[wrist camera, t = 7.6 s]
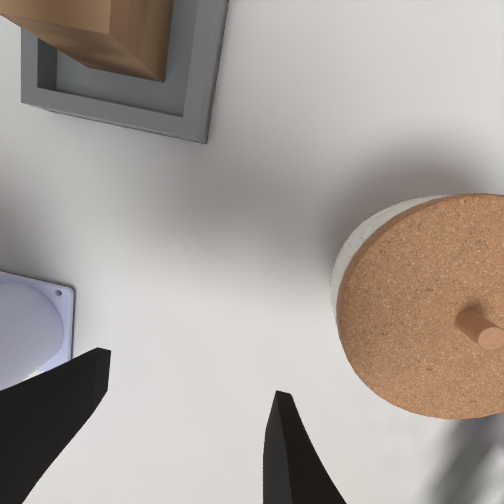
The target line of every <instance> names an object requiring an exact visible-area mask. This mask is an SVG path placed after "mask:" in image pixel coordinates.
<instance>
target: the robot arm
mask: <svg viewBox="0 0 504 504" xmlns="http://www.w3.org/2000/svg"><path fill="white" fill-rule="evenodd" d="M59 290H60V291H61V293H62V294H60V292H59ZM73 302H74V292H73V290H72V289H71V288H69V287H66V286H62V285H57V284H53V283H49V282H44V281H40V280H36V279H32V278H27V277H23V276H19V275H14V274H10V273H6V272H1V271H0V504H22V503H23V502H24V500H25V499H26V497H27V496H28V494H29V493H30V492H31V490H32V489H33V487H34V486H35V484H36V483H37V482H38V480H39V479H40V478H41V476H42V475H43V474H44V473H45V471H46V470H47V469H48V467H49V466H50V465H51V464H52V462H53V461H54V460H55V459H56V458H57V456H58V455H59V454H60V453H61V452H62V450H63V449H64V448H65V447H66V446H67V444H68V443H69V442H70V441H71V439H72V438H73V437H74V436H75V435H76V433H77V432H78V431H79V430H80V429H81V427H82V426H83V425H84V424H85V422H86V421H87V420H88V419H89V417H90V416H91V415H92V414H93V412H94V411H95V409H96V408H97V406H98V405H99V403H100V402H101V400H102V398H103V397H104V395H105V394H106V392H107V390H108V379H109V368H110V357H111V351H110V350H106V349H102V348H98V347H97V348H95V349H93V350H90V351H88V352H86V353H84V354H82V355H80V356H78V357H76V358H74V359H72V360H71V341H72V322H73ZM35 370H41V371H45V372H44V373H42V374H39V375H37V376H35V377H32V378H30V379H28V380H25V381H23V382H21V381H22V380H24V379H25V378H26V377H28V376H29V375H30V374H31V373H33V372H34V371H35ZM20 382H21V383H20ZM263 504H346V502H345V501H344V499H343V498H342V496H341V495H340V493H339V491H338V490H337V488H336V487H335V485H334V483H333V482H332V480H331V478H330V477H329V475H328V473H327V472H326V470H325V468H324V466H323V464H322V463H321V461H320V459H319V457H318V455H317V453H316V451H315V449H314V447H313V445H312V443H311V441H310V439H309V436H308V434H307V432H306V430H305V428H304V425H303V423H302V421H301V418H300V416H299V413H298V411H297V408H296V406H295V403H294V400H293V397H292V395H291V394H289V393H285V392H281V391H277V390H276V393H275V397H274V400H273V404H272V408H271V412H270V415H269V419H268V423H267V427H266V432H265V442H264V452H263Z"/></svg>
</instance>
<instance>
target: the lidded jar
mask: <svg viewBox="0 0 504 504" xmlns="http://www.w3.org/2000/svg"><path fill="white" fill-rule="evenodd" d="M331 302H332V308H333V314H334V318H335V321H336V325H337V328H338V333H339V338H340V341H341V344H342V346H343V349H344V352H345V354H346V357H347V359H348V361H349V363H350V364H351V366H352V368H353V369H354V371H355V373H356V374H357V375H358V376H359V378H360V379H361V380H362V381H363V382H364V383H365V385H366V386H367V387H369V388H370V389H371V390H372V391H373V392H375V393H376V394H377V395H378V396H379V397H381V398H383V399H384V400H386V401H388V402H389V403H391V404H393V405H395V406H397V407H400V408H402V409H404V410H407V411H409V412H412V413H416V414H420V415H424V416H428V417H435V418H441V419H468V418H478V417H484V416H488V415H492V414H496V413H500V412H503V411H504V195H495V194H483V193H473V194H458V195H439V196H427V197H421V198H416V199H412V200H407V201H403V202H400V203H398V204H395V205H392V206H390V207H387V208H385V209H383V210H381V211H380V212H378V213H376V214H374V215H372V216H371V217H369V218H368V219H367V220H365V221H364V222H363V223H362V224H360V225H359V226H358V227H357V228H356V229H355V230H354V231H353V232H352V233H351V235H350V236H349V237H348V239H347V240H346V241H345V243H344V244H343V246H342V248H341V250H340V252H339V254H338V256H337V259H336V262H335V265H334V268H333V274H332V280H331Z"/></svg>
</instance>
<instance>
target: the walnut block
mask: <svg viewBox="0 0 504 504" xmlns="http://www.w3.org/2000/svg"><path fill="white" fill-rule="evenodd" d="M173 3H174V0H0V15H2V16H3V17H5V18H6V19H8V20H10V21H11V22H13V23H15V24H16V25H18V26H20V27H21V28H23V29H25V30H26V31H28V32H30V33H31V34H33V35H35V36H36V37H38V38H39V39H41V40H43V41H44V42H46V43H48V44H49V45H51V46H53V47H54V48H56V49H58V50H59V51H61V52H63V53H64V54H66V55H68V56H69V57H71V58H73V59H74V60H76V61H77V62H79V63H81V64H82V65H84V66H86V67H87V68H92V69H97V70H102V71H107V72H112V73H117V74H122V75H127V76H132V77H137V78H142V79H147V80H152V81H157V82H162V83H164V82H165V74H166V65H167V56H168V47H169V39H170V30H171V21H172V12H173Z"/></svg>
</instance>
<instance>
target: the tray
mask: <svg viewBox="0 0 504 504" xmlns="http://www.w3.org/2000/svg"><path fill="white" fill-rule="evenodd" d="M228 2H229V0H174V3H173V12H172V21H171V30H170V39H169V47H168V56H167V65H166V74H165V82H164V83H162V82H157V81H152V80H147V79H142V78H137V77H132V76H127V75H122V74H117V73H112V72H107V71H102V70H97V69H92V68H87V67H86V66H84V65H82V64H81V63H79V62H77V61H76V60H74V59H73V58H71V57H69V56H68V55H66V54H64V53H63V52H61V51H59V50H58V49H56V48H54V47H53V46H51V45H49V44H48V43H46V42H44V41H43V40H41V39H39V38H38V37H36V36H35V35H33V34H31V33H30V32H28V31H26V30H25V29H23V28H21V102H22V103H25V104H28V105H31V106H34V107H38V108H41V109H44V110H47V111H50V112H55V113H60V114H65V115H69V116H74V117H79V118H84V119H89V120H93V121H98V122H103V123H108V124H113V125H117V126H122V127H127V128H132V129H137V130H141V131H146V132H151V133H156V134H161V135H165V136H170V137H175V138H180V139H185V140H189V141H194V142H199V143H204V144H207V137H208V131H209V124H210V118H211V111H212V105H213V98H214V92H215V86H216V79H217V73H218V66H219V60H220V53H221V47H222V40H223V34H224V27H225V21H226V15H227V8H228Z"/></svg>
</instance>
